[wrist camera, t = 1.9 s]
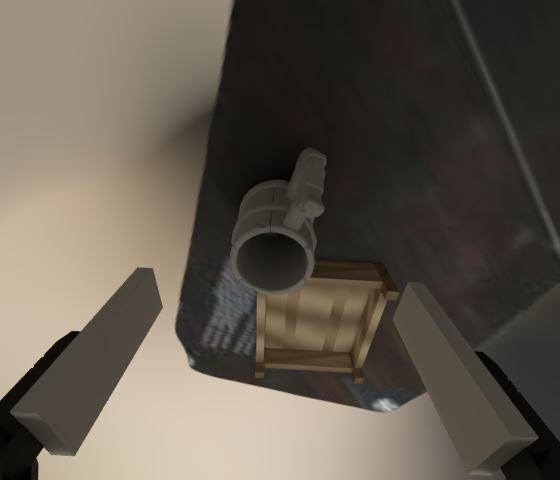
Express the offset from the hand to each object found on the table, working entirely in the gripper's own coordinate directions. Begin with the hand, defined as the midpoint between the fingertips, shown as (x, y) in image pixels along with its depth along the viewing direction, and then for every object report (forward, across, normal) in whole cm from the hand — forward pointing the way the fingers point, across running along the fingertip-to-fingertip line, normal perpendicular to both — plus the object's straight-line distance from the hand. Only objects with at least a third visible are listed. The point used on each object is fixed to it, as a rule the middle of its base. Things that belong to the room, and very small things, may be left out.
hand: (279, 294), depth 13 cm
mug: (+15, 0, 0) cm, 15 cm away
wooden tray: (+15, +5, -16) cm, 23 cm away
